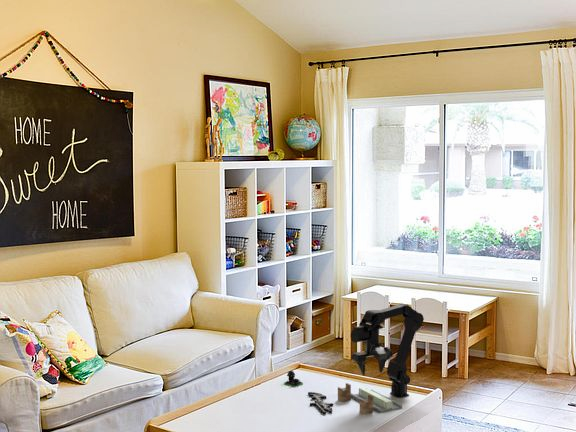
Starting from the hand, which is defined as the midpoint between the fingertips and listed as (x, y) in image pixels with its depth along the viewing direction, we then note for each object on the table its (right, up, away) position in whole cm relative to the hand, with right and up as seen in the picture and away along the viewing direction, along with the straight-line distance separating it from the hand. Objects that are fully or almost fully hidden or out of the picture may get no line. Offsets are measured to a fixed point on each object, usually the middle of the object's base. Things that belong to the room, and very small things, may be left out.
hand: (372, 373), depth 320 cm
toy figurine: (-35, -11, +28) cm, 46 cm away
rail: (+1, -12, 0) cm, 12 cm away
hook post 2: (-4, -14, -12) cm, 19 cm away
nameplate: (-23, -14, -1) cm, 27 cm away
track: (+1, -13, 0) cm, 13 cm away
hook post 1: (-12, -13, +3) cm, 18 cm away
